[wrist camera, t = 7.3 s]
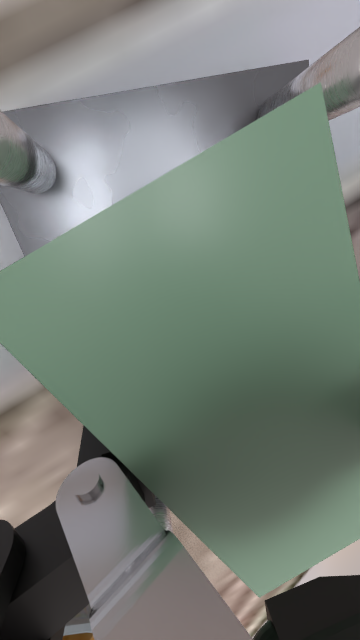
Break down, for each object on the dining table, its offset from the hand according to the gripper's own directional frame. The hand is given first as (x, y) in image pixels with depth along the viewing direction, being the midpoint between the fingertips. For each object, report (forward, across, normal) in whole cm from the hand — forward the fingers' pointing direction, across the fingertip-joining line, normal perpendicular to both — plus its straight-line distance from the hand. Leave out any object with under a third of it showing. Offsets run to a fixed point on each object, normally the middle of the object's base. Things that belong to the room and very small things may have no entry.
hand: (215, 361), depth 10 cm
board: (+1, 0, 0) cm, 1 cm away
